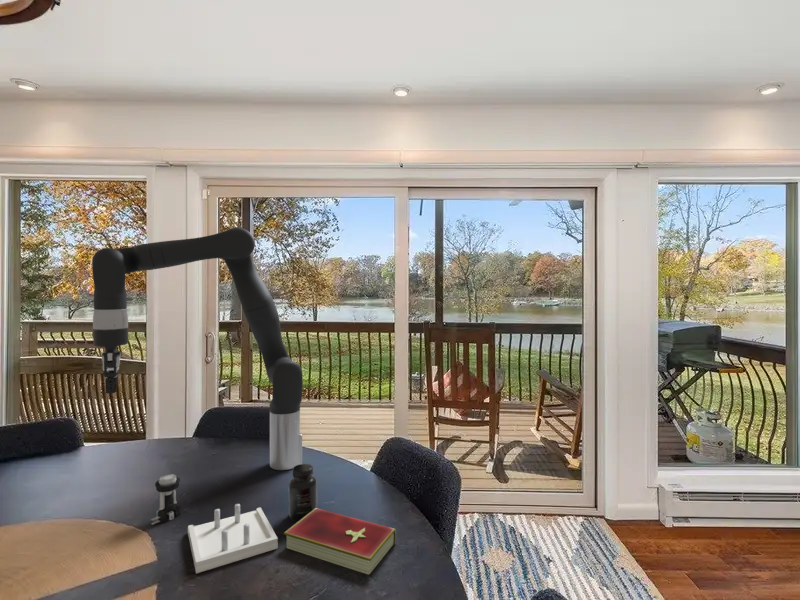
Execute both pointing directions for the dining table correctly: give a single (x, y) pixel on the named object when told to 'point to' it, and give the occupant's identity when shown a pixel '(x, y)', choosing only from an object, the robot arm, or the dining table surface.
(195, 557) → the tray
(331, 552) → the hardcover book
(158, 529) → the dining table surface
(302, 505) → the supplement bottle
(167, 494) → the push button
